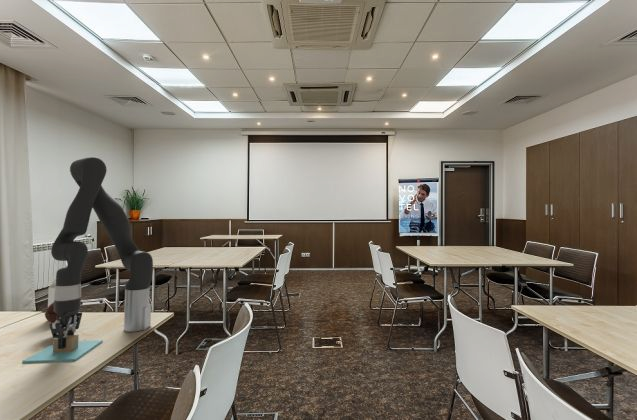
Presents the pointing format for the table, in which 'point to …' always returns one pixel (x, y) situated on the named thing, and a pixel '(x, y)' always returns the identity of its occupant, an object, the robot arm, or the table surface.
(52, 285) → the milk carton
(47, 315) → the ice cream bowl
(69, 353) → the teal square mat
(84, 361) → the table surface
